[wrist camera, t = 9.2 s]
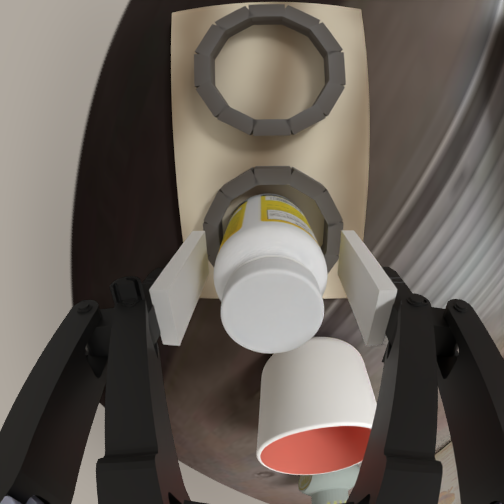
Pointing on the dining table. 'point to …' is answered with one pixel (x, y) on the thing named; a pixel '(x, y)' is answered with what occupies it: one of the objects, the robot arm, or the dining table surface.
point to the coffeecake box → (448, 476)
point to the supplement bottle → (270, 276)
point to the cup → (315, 408)
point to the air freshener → (329, 485)
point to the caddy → (271, 118)
